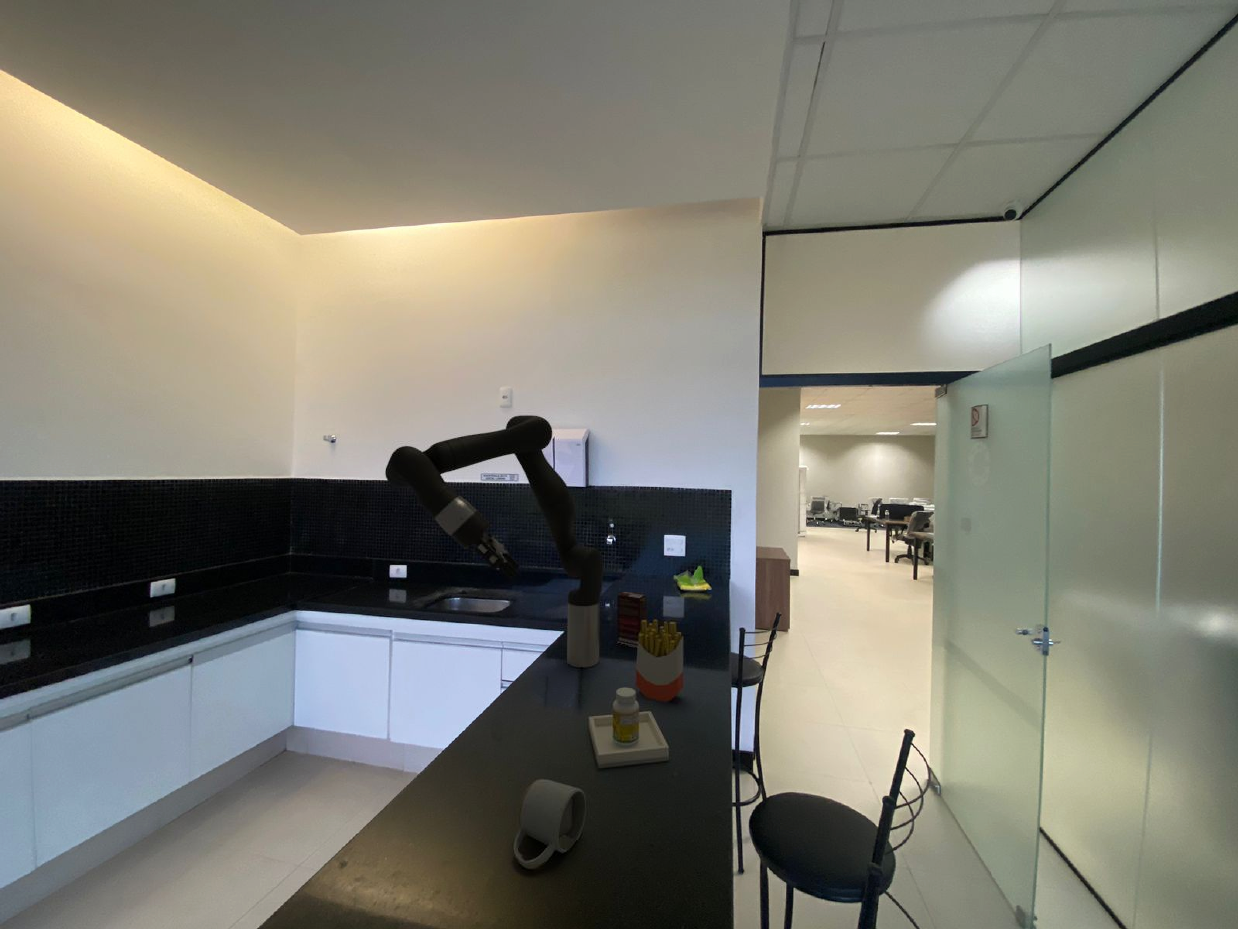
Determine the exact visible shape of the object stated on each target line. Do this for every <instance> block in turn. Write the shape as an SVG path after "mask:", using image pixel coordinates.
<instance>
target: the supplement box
mask: <svg viewBox="0 0 1238 929" xmlns="http://www.w3.org/2000/svg"><path fill="white" fill-rule="evenodd" d="M647 604H648V602H647V594H641V593H635V592H630V591H623V592H621V593H618V594H617V608H616V609H617V633H616V634H617V636H616V637H617V644H618V643H621V644H620V645H622V644H625V645H624V646H626V645H628V646H627V647H631V648H635V647H636V648H635V649H638V639H639V638H638V635H639V632H640V631H641V630H642V625H641V621H642V620H647V613H648V612H647V611H648V610H647V607H648V606H647ZM647 621H648V620H647Z"/></svg>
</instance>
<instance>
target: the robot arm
mask: <svg viewBox="0 0 1238 929" xmlns="http://www.w3.org/2000/svg"><path fill="white" fill-rule="evenodd" d="M552 438H553V428H552V425H551V423H550V422H549V421H548V420H547V419H546V418H543V417H541V416H539V415H532V414H530V415H529V414H527V415H525V414H524V415H523V414H521V415H516V416H513V417H511V418H509V420H508V421H507V423H506V426H505V428H503V429H500V430H499V429H498V430H495V431H490V432H483V433H474V434H470V435H469V434H468V435H467V434H466V435H462V436H458V437H454V438H453V437H452V438H450V439H446V440H441V441H438V442H436V443H434V444H431V446H429V447H428V448H427V449H426V450H423V451H422V450H420V449H418V448H416V447H414V446H412V445H411V446H409V445H403V446H399V447H398V448H395V450H394V451H393V452H392V453H391V455H390V458H389V459H388V462H387V464H386V467H385V473H384V474H385V478H386V481H387V482H388V483H389V484H390V485H392V486H393V487H395V488H401V489H407V488H411V489H412V490H413V491H414V492H415V493H416V495H417V497H416V498H417V502H418V504H419V505H420V507H421V508H422V509H424V510H425V511H426V513H427V514H429V515H430V516H431V517H432V518H433V519H434V520H435V521H436V522H437V523H438V525H439V526H440V527H441V528H442V530H444V531H445V533H447V534H448V535H449V536H450V537H451V538H452V539H454V541H456V542H457V544H459V545H460V546H461V547H462V548H463V549H465V550H466V549H469V548H470V547H471V546H472V545H475V546H476V548H474V550H475V552H476V554H478V555H479V556H480V557H481V558H482V559H484V561H485V562H486V563H488V564H489V566H491V567H492V569H493V570H498V571H500V573H502V574H503V575H504V576H505V577H506V578H507V579H508V580H509V581H512V582H513V581H514V580H515V579H517V577H519V575H520V573H519V571H518V569H519V568H520V564H519V563H518V561H516V560H515V559H514V558H513V557H512V556H511V555H510V554H509V551H508V549H507V548H506V546H504V545H503V544H502V543H500V542H499V540H497V539H496V537H494V536H493V535H492V533H490V532H488V533H486V531H487V530H488V529H489V528H490V526H491V523H490V522H489V521H488V520H487V519H486V517H484V515H482V514H481V513H480V512H479V511H478V510H477V509H476V508H475V507H474V506H473V505H472V504H471V503H470V502H468V500H466V499H465V498H463V497H462V496H461V495H460V494H459V493H458V492H457V491H456V490H455V489H454V488H452V486H450V484H448V482H446V480H444V478H443V476H442V475H443V474H446V473H450V472H453V471H457V470H461V469H464V468H467V467H470V466H473V465H476V464H479V463H482V462H485V461H488V460H493V459H496V458H500V457H504V456H510V455H515V457H516V459H517V461H518V463H519V465H520V466H521V468H522V470H523V472H524V474H525V476H526V477H525V478H526V479H527V481H528V483H529V485H530V488H531V490H532V492H533V495H534V497H535V501H536V502H537V505H538V507H539V509H540V511H541V514H542V516H543V518H544V521H545V522H546V525H547V526H548V529H549V532H550V534H551V537H552V539H553V541H554V542H553V543H554V544H555V548H556V551H557V554H558V558H559V560H560V564H561V566H562V568H563V570H564V573H565V574H567V575H568V576H570V577H572V578H577V579H579V580H580V581H579V587H578V588H574V589H572V590H570V591H569V592H568V594H567V633H566V634H567V641H566V642H567V643H566V644H567V646H566V649H567V650H566V652H567V653H566V661H567V662H566V663H567V664H568V665H569V664H570V666H571V667H574V668H581V667H583V668H591V667H593V666H596V665H597V664H598V663H599V661H600V597H601V594H602V590H603V577H604V576H603V575H604V558H603V555H602V552H601V550H600V549H599V548H597V547H596V548H595V547H591V546H583V545H581V544H580V543H579V541H578V540H577V537H576V534H575V532H574V528H573V527H574V522H575V515H576V506H575V505H576V504H575V501H574V498H573V497H572V494H571V491H570V489H569V487H568V485H567V483H566V482H565V481H564V478H562V476H561V475H560V474H559V473H558V472H557V471H556V470H555V469H554V467H552V465H551V464H550V463H549V461H548V460H547V457H545V454H544V451H543V450H544V449H546V448H547V447H548V446H549V445H550V443H551V441H552Z"/></svg>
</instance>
